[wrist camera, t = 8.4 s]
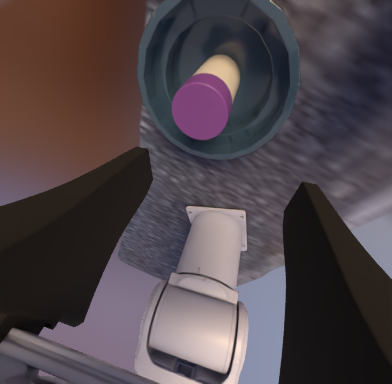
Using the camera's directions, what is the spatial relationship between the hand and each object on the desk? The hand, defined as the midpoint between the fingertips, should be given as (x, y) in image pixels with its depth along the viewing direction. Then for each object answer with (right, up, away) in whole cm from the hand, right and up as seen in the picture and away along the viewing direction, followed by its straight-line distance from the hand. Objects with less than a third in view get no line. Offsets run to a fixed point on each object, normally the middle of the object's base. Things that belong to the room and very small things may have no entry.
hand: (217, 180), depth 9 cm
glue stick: (+1, +8, +5) cm, 9 cm away
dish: (+1, +8, +5) cm, 10 cm away
